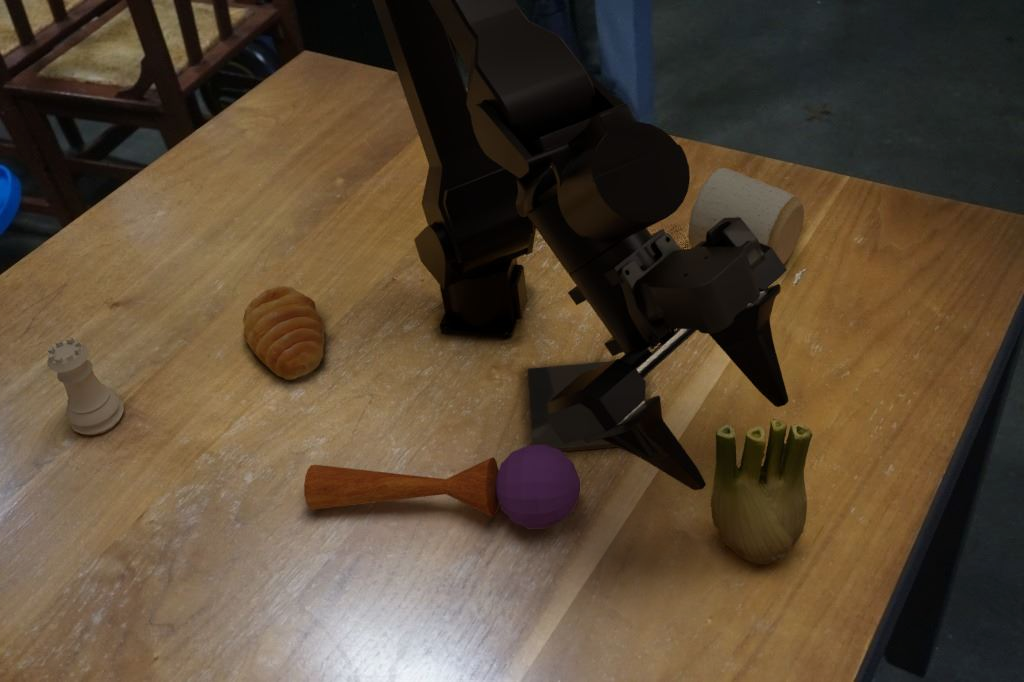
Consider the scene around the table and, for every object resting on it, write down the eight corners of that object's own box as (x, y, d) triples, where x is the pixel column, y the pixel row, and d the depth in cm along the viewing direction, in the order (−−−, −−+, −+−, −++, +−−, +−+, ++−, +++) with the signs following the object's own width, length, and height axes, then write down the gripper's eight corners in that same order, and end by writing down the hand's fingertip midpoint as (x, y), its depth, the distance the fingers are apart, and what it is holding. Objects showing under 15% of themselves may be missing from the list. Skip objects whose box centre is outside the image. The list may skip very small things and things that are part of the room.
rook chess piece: (77, 446, 89) (39, 376, 84) (67, 412, 92) (30, 343, 87) (131, 424, 91) (97, 354, 85) (119, 391, 94) (86, 322, 88)
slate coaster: (533, 454, 84) (532, 450, 84) (528, 372, 91) (527, 368, 91) (650, 444, 84) (650, 440, 84) (636, 362, 91) (636, 358, 90)
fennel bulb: (703, 551, 76) (708, 435, 68) (732, 501, 79) (740, 384, 71) (783, 584, 74) (798, 468, 66) (809, 531, 77) (827, 414, 69)
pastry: (345, 366, 93) (335, 333, 91) (269, 396, 92) (257, 363, 89) (311, 304, 100) (302, 272, 97) (240, 331, 98) (228, 298, 96)
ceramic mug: (769, 292, 95) (776, 220, 90) (685, 263, 99) (687, 193, 94) (819, 228, 101) (828, 157, 96) (737, 203, 105) (742, 134, 100)
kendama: (316, 430, 83) (579, 426, 78) (333, 492, 86) (588, 491, 81) (289, 481, 78) (569, 480, 73) (309, 544, 81) (578, 547, 77)
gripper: (571, 290, 58) (736, 524, 60) (770, 133, 68) (910, 339, 69) (482, 338, 68) (626, 539, 69) (667, 195, 77) (791, 374, 79)
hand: (743, 445), depth 71 cm, fingers open, 9 cm apart
